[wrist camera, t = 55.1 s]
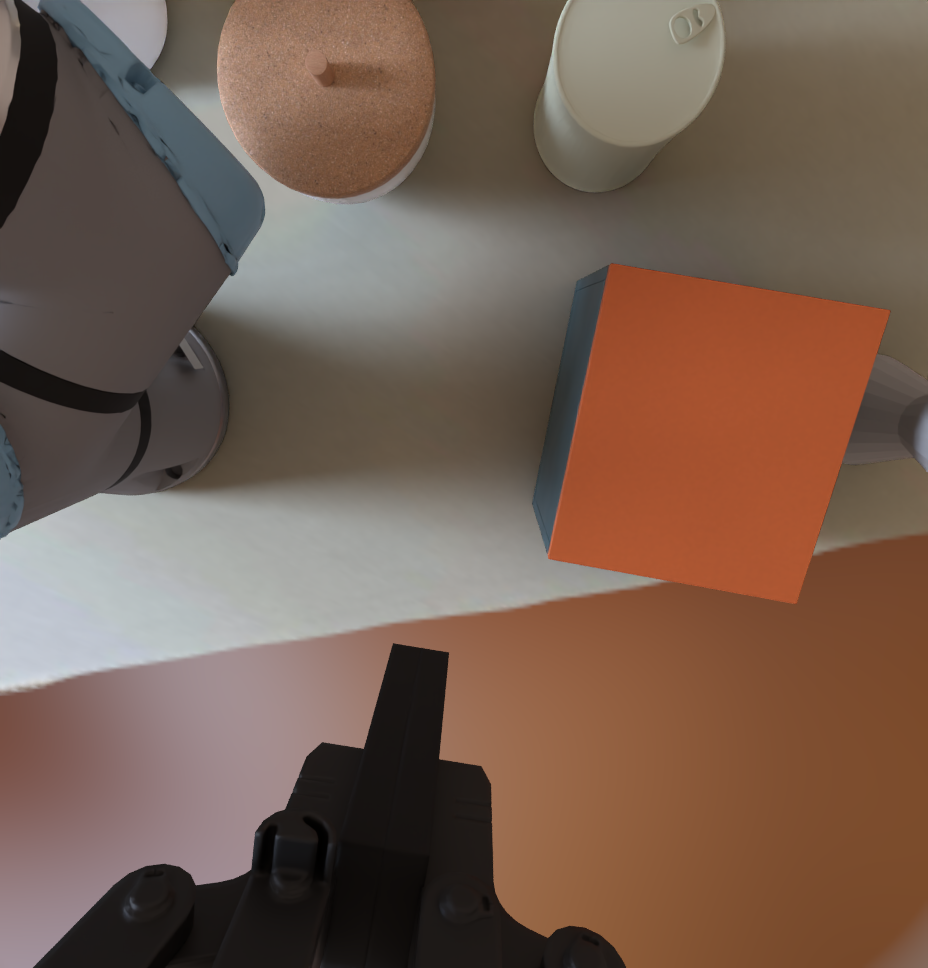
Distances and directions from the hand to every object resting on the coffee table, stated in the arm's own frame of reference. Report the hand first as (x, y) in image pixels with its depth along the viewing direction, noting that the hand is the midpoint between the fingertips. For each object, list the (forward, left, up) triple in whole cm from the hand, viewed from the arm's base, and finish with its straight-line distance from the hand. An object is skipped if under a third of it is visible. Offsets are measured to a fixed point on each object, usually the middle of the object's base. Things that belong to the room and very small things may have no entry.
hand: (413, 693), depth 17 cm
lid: (+14, +5, -22) cm, 27 cm away
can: (+6, +25, -35) cm, 43 cm away
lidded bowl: (-11, +22, -35) cm, 42 cm away
